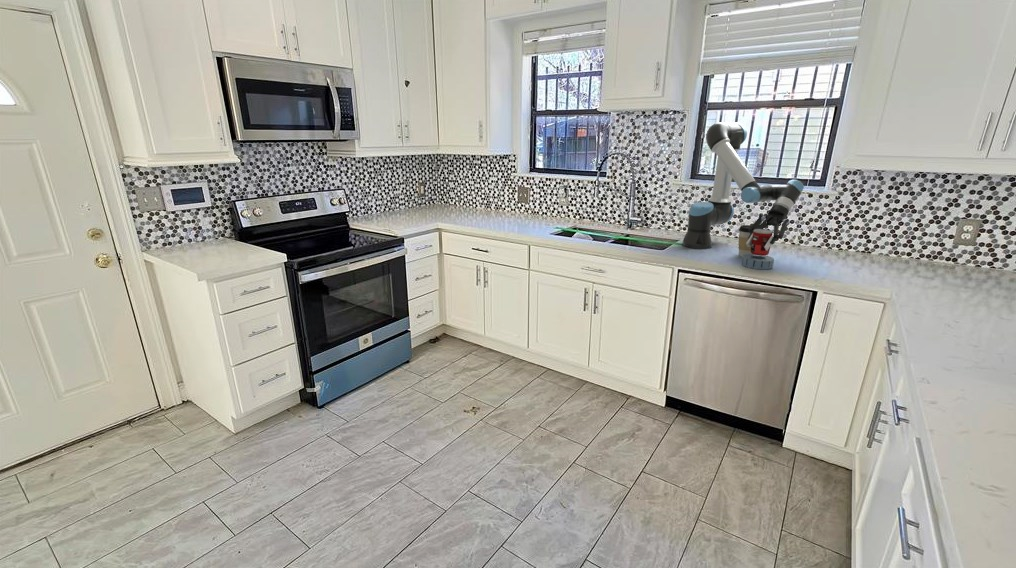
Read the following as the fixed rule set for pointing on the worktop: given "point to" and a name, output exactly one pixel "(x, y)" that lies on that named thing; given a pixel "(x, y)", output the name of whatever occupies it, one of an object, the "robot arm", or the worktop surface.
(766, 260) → the grey notched ring
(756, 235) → the canned food
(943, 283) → the worktop surface
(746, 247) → the coffee cup
